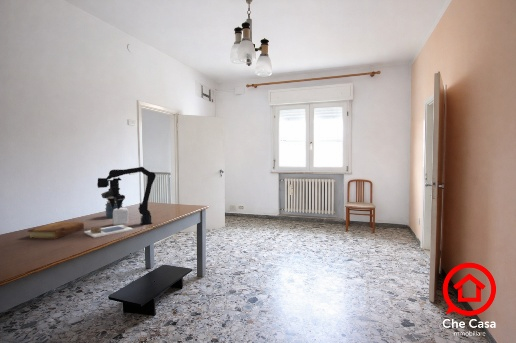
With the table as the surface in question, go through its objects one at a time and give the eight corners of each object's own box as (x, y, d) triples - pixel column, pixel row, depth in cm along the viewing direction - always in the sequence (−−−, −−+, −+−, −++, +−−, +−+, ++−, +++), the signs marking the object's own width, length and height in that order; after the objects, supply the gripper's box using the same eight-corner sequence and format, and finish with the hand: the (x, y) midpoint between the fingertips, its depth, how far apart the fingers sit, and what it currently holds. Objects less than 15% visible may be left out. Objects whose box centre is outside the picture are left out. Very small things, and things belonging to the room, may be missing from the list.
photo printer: (127, 222, 204) (127, 206, 204) (128, 223, 201) (128, 207, 200) (112, 224, 199) (112, 208, 198) (113, 225, 195) (112, 209, 195)
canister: (126, 216, 228) (126, 196, 227) (115, 219, 215) (114, 198, 215) (113, 216, 231) (113, 196, 230) (101, 219, 218) (101, 197, 217)
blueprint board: (121, 226, 194) (121, 220, 193) (133, 229, 182) (132, 224, 182) (84, 232, 175) (84, 226, 175) (93, 237, 164) (93, 231, 164)
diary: (56, 239, 161) (56, 230, 161) (27, 239, 163) (27, 230, 162) (83, 230, 184) (83, 222, 184) (58, 230, 185) (58, 221, 185)
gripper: (96, 187, 191) (97, 209, 191) (108, 188, 179) (109, 211, 180) (113, 186, 199) (114, 206, 200) (124, 187, 188) (125, 208, 188)
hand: (115, 208), depth 192 cm, fingers open, 9 cm apart
